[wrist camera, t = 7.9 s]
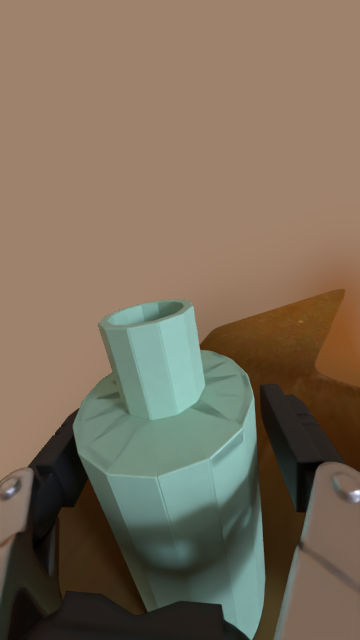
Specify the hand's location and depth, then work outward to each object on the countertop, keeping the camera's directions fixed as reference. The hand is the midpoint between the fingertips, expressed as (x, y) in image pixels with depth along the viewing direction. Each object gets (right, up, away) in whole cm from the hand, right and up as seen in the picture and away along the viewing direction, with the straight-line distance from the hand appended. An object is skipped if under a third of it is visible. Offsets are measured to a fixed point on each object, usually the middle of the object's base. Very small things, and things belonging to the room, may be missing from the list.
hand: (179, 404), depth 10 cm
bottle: (+1, -9, +1) cm, 9 cm away
